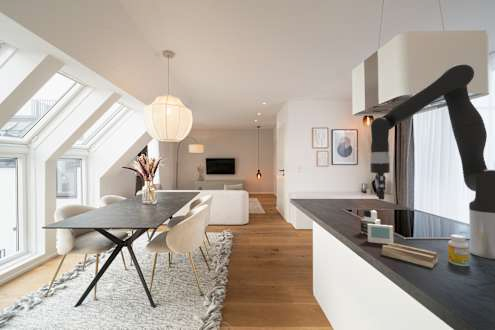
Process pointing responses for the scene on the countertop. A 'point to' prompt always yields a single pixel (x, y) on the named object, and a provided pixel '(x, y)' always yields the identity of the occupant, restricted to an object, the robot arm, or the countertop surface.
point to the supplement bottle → (458, 250)
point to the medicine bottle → (369, 220)
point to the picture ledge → (410, 254)
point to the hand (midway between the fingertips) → (380, 198)
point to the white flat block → (380, 233)
